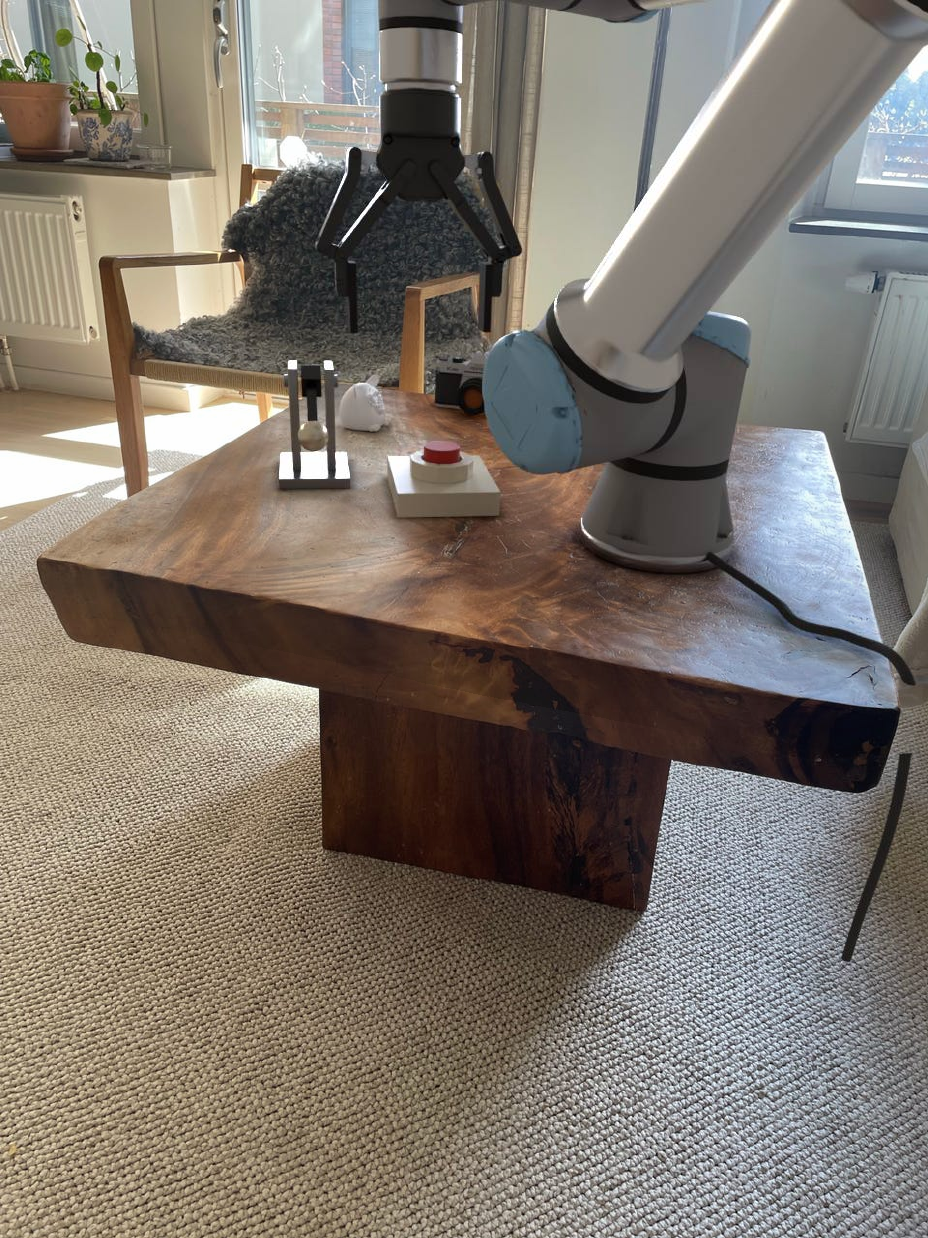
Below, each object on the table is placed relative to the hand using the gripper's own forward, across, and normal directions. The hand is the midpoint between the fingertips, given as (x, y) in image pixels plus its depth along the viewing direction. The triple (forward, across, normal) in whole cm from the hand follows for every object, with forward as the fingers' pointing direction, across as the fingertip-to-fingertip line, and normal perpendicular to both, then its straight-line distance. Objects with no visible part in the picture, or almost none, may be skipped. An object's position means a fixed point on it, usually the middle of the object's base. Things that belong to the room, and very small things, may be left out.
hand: (419, 331), depth 91 cm
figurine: (+18, +3, -31) cm, 36 cm away
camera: (+18, -14, -38) cm, 44 cm away
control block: (+18, -3, -1) cm, 18 cm away
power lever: (+10, +11, -6) cm, 16 cm away
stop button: (+14, -3, -1) cm, 14 cm away
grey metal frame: (+18, +11, -10) cm, 23 cm away
